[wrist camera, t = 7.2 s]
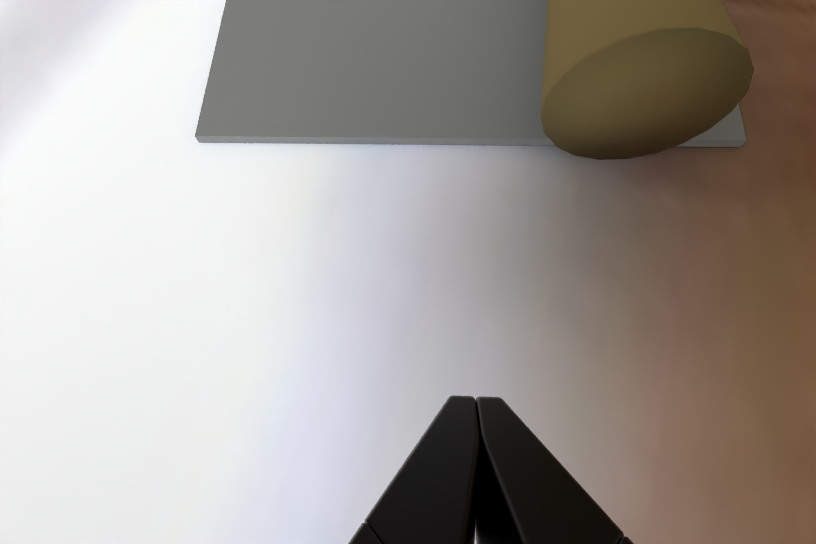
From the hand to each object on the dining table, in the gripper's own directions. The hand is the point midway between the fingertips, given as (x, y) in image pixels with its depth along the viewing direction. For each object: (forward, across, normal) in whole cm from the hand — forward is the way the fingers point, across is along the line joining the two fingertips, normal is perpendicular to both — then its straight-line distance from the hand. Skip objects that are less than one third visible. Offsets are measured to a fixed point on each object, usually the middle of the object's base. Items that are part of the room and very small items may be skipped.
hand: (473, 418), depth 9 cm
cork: (+10, -5, -4) cm, 12 cm away
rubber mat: (+19, 0, -8) cm, 20 cm away
